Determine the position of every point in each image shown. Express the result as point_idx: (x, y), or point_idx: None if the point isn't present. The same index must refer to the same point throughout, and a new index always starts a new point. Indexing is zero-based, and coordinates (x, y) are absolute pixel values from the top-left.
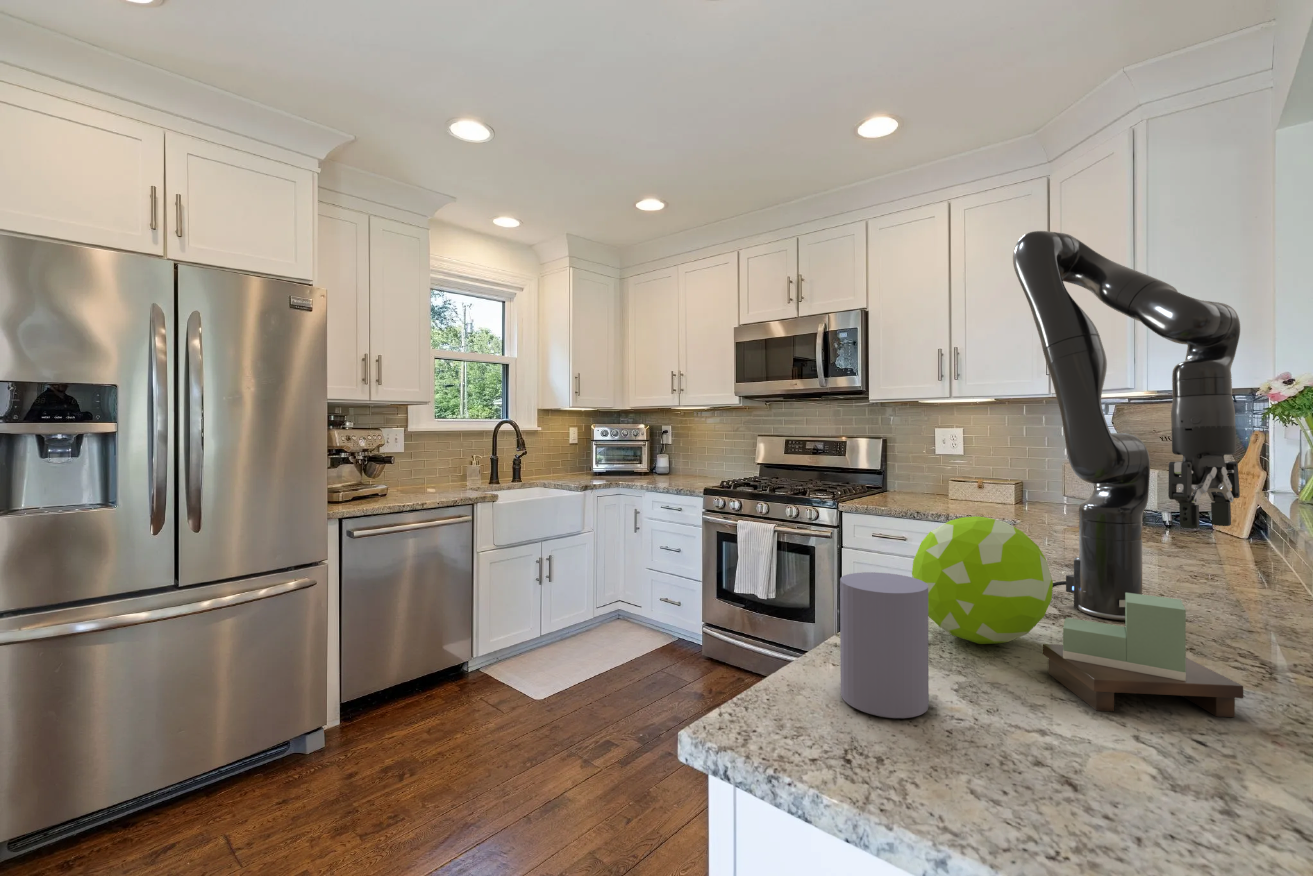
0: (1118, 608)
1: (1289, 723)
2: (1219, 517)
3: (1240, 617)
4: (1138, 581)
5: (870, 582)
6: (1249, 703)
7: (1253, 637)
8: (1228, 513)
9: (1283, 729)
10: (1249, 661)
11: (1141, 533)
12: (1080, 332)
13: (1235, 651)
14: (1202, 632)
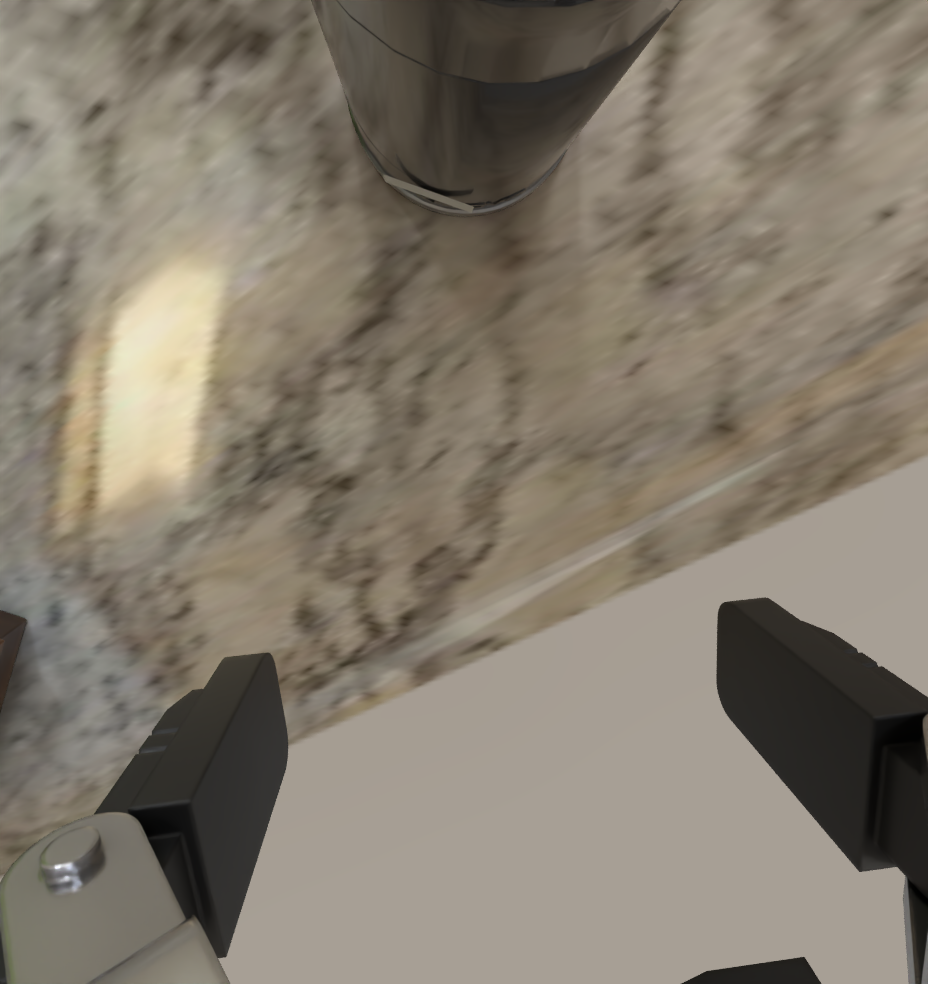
0: (393, 174)
1: None
2: (758, 686)
3: (892, 313)
4: (492, 175)
5: None
6: (91, 754)
7: (656, 471)
8: (787, 778)
9: (29, 838)
10: (395, 597)
11: (608, 40)
12: None
13: (450, 536)
14: (559, 387)
